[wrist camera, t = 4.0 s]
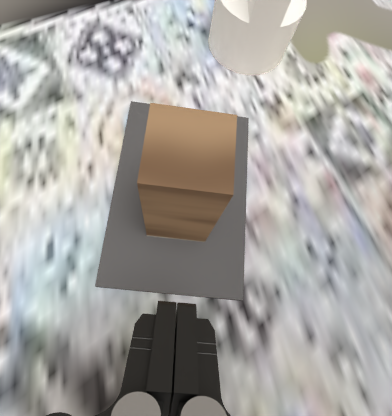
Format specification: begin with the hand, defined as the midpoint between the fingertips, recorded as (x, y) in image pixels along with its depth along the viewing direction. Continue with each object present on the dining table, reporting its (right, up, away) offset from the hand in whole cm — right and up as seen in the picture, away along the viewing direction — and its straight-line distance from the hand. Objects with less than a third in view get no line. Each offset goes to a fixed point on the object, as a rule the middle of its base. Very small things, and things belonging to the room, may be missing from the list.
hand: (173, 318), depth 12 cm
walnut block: (-1, +4, +15) cm, 15 cm away
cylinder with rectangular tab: (+7, +23, +23) cm, 34 cm away
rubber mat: (-1, +6, +16) cm, 17 cm away
